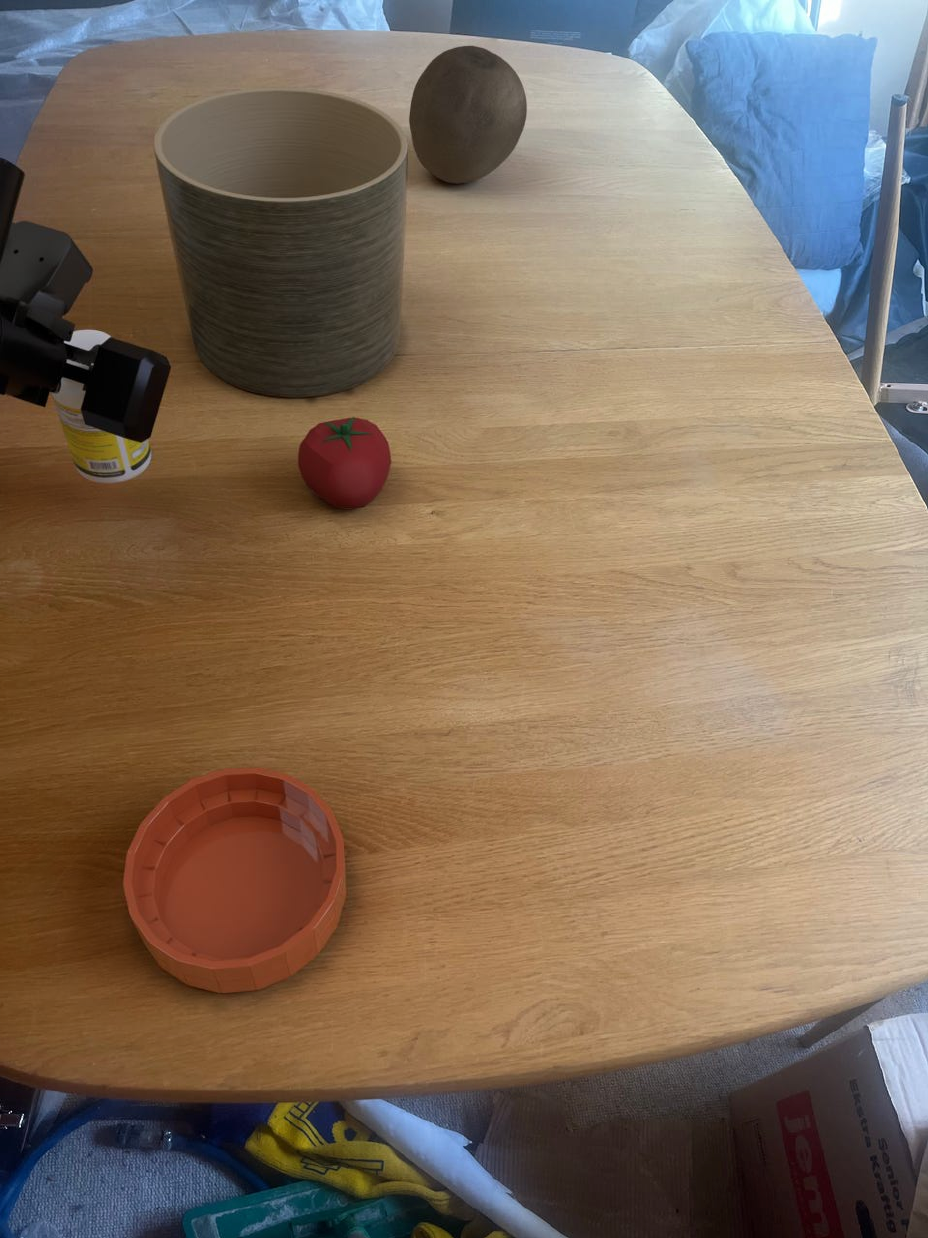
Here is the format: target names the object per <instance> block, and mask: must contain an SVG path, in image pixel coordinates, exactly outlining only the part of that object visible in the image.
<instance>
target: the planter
mask: <svg viewBox="0 0 928 1238" xmlns="http://www.w3.org/2000/svg"><path fill="white" fill-rule="evenodd" d="M152 143H153V144H152V145H153V151H154V152H153V153H154V157H155V162H156V163H155V164H156V168H157V173H158V179H159V183H160V189H161V195H162V199H163V205H164V210H165V215H166V220H167V225H168V230H169V236H170V240H171V245H172V250H173V255H174V259H175V264H176V270H177V273H178V278H179V282H180V288H181V292H182V296H183V301H184V306H185V310H186V315H187V319H188V324H189V329H190V334H191V338H192V339H191V340H192V342H193V343H192V344H193V346H194V350H195V352H196V354H197V356H198V359H200V361H201V363H202V364H203V365H204V366H205V367H206V368H207V369H208V370H209V371H210V372H211V373H212V374H213V375H215V377H218V378H219V379H221V380H222V381H224V382H226V383H228V384H230V385H232V386H234V387H236V388H239V389H242V390H245V391H248V392H251V393H256V394H259V395H264V396H270V397H278V398H313V397H321V396H326V395H332V394H336V393H339V392H343V391H347V390H349V389H352V388H355V387H357V386H360V385H362V384H363V383H366V382H368V381H369V380H371V379H372V378H374V377H376V376H377V375H378V374H380V373H381V372H382V371H383V370H384V369H385V368H386V367H387V366H388V365H389V364H390V363H391V361H392V360H393V359H394V356H395V355H396V354H397V351H398V348H399V345H400V339H401V324H402V323H401V322H402V304H403V303H402V302H403V301H402V300H403V285H404V268H405V266H404V265H405V250H406V249H405V248H406V226H407V225H406V224H407V223H406V222H407V197H408V194H407V193H408V166H409V165H408V164H409V162H408V161H409V142H408V138H407V135H406V133H405V131H404V130H403V128H402V127H401V125H400V124H399V123H398V122H397V121H396V120H395V119H394V118H393V117H392V116H390V115H388V114H387V113H386V112H384V111H383V110H381V109H379V108H378V107H376V106H373V105H371V104H370V103H367V102H364V101H362V100H360V99H356V98H354V97H350V96H347V95H345V94H339V93H336V92H331V91H327V90H321V89H313V88H305V87H290V86H264V87H263V86H262V87H250V88H241V89H235V90H229V91H224V92H219V93H215V94H212V95H208V96H205V97H201V98H199V99H196V100H194V101H192V102H190V103H187V104H184V105H183V106H181V107H180V108H178V109H176V110H175V111H173V112H172V113H171V114H169V115H168V116H166V117H165V119H163V121H162V122H160V124H159V126H158V127H157V129H156V131H155V133H154V135H153V142H152Z"/></svg>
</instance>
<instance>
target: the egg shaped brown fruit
mask: <svg viewBox="0 0 928 1238" xmlns="http://www.w3.org/2000/svg"><path fill="white" fill-rule="evenodd" d="M527 112H528V103H527V96H526V92H525V88H524V85H523V82H522V81H521V78H520V77H519V75H518V73H517V72H516V70H515V69H514V68H513V67H512V66H511V65H510V64H509V63H508V62H507V61H506V60H504V59H503V58H502V57H501V56H499V55H497V54H496V53H494V52H492V51H490V50H489V49H487V48H484V47H480V46H475V45H461V46H456V47H453V48H450V49H447V50H445V51H443V52H441V53H440V54H438V55H436V56H435V57H434V58H433V59H432V60H431V61H430V62H429V64H427V66H426V68H425V69H424V70H423V72H422V73H421V75H420V76H419V78H418V80H417V82H416V83H415V85H414V89H413V92H412V96H411V101H410V106H409V113H408V114H409V115H408V116H409V117H408V123H409V130H410V135H411V136H410V137H411V142H412V147H413V149H414V153H415V155H416V157H417V159H418V161H419V163H420V164H421V165H422V167H424V169H425V170H427V171H428V172H429V174H431V175H433V176H434V177H435V178H437V179H439V180H441V181H443V182H446V183H449V184H467V183H472V182H476V181H478V180H480V179H482V178H484V177H487V176H488V175H490V174H491V173H493V172H494V171H495V170H497V168H499V167H500V165H502V164H503V163H504V162H505V161H506V160H507V159H508V158H509V157H510V156H511V154H512V153H513V151H514V150H515V149H516V147H517V145H518V142H519V140H520V139H521V136H522V134H523V132H524V128H525V125H526V120H527Z"/></svg>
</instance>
